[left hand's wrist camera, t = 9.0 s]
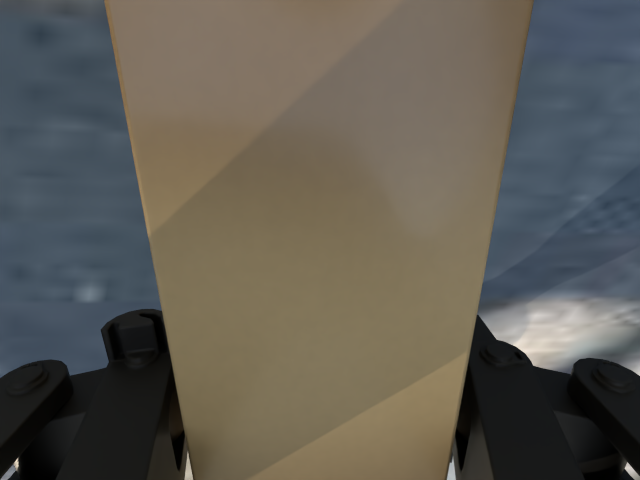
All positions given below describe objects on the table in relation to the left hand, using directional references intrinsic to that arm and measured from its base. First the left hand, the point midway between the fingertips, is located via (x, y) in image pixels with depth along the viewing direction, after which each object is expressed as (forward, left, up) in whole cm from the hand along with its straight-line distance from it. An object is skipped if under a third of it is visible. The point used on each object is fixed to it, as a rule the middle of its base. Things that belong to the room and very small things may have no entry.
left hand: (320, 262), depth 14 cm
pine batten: (0, +7, 0) cm, 7 cm away
